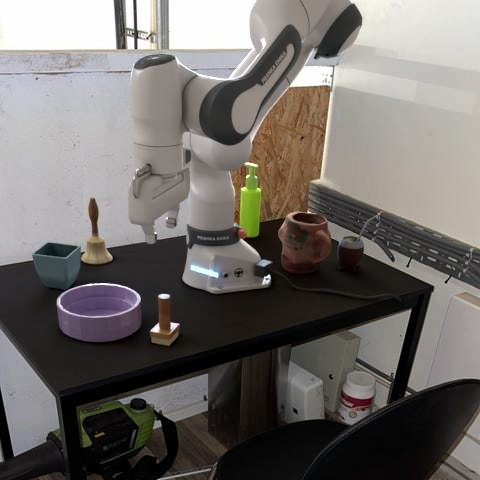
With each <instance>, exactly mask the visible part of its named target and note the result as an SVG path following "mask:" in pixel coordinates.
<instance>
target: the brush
mask: <svg viewBox="0 0 480 480" xmlns="http://www.w3.org/2000/svg"><path fill="white" fill-rule="evenodd" d="M157 301H158V302H157V303H158V322H157V324H155V326H154V327H152V328H151V329H150V331H149V337H150V338H151V343H153V344H157V345H162V346H168V347H170V345H171V344H173V343H174V341H175V340H176V339H177V338H178V337H179V336H180V335H179V332H180V329H181V327H180V325H181V324H180V323H176V322H171V321H172V320H171V295H170V294H166V293H161V294H159V295H158V296H157Z"/></svg>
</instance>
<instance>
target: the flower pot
mask: <svg viewBox="0 0 480 480" xmlns="http://www.w3.org/2000/svg"><path fill="white" fill-rule="evenodd" d="M31 257H32V261H33V264H34V267H35V270H36V271H35V272H36V273H37V275H38V277H39V279H40V281H41V282H42V283H43V284H44V285H45V286H46V287H47V288H50V289H51V288H52V289H59V290H69V289H70V287H71V286H72V285H73V284H74V283H75V282H76V280H77V277H78V275H79V272H80V269H81V262H82V260H81V257H82V247H81V245H78V244H68V243H60V242H54V241H46V242H45V243H44V244H42V245H41V246H40V247H38V248H37V249H36V250H34V251H33V252H32V253H31Z"/></svg>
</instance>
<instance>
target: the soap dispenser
mask: <svg viewBox="0 0 480 480" xmlns="http://www.w3.org/2000/svg"><path fill="white" fill-rule="evenodd" d="M242 167H246V168H248V175H246V176H245V186H244V187H242V188H240V205H239V207H240V208H239V211H240V212H239V226H241V228H242V229H244V230H245V232H246V233H247V235H246V236H247V237H246V238H257V237H258V236H259V235H260V234H259V233H260V219H261V218H260V217H261V202H262V188H259V187H258V181H259V179H258V178H259V177H258V176H257V175H256V169H259V165H258V164H256V163H251V162H246V163H245V164H244V165H243V166H242Z"/></svg>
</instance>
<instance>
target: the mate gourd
mask: <svg viewBox="0 0 480 480" xmlns="http://www.w3.org/2000/svg"><path fill="white" fill-rule="evenodd" d="M377 217H379V214H376V215H374V216H373V217H370V218H369V219H368V220H366V221H365V223H364V225H363V227H362V229H361V231H360V233H359V235H358V236H355V235H354V236H353V235H347V236H343V237H341V239H340V240H339V242H338V245H337V248H336V255H337V259H338V266H339V267H337V270H338V271H344V270H349V271H350V272H352V273H357V270H356V268H358V266H359V265H358V264H359V263H360V262H361V260H362V259H363V256H364V252H365V244H364V241H363V239H362V235H363V234H364V232H365V230H366V229H367V227H368V225H369V223H371V222H372V220H374V219H376V218H377Z"/></svg>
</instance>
